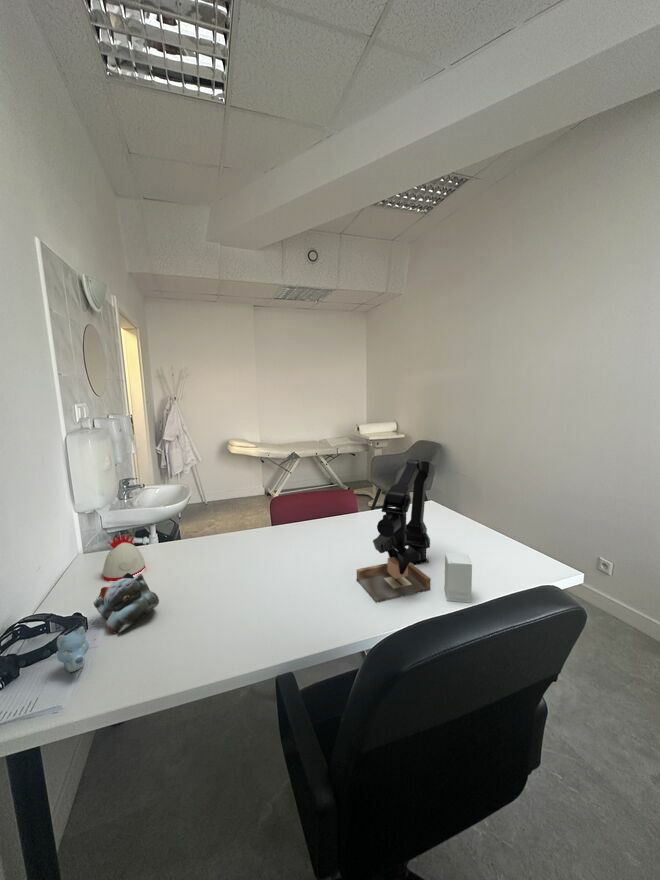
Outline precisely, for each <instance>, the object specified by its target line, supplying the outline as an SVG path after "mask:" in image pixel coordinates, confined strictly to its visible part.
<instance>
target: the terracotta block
mask: <svg viewBox="0 0 660 880" xmlns="http://www.w3.org/2000/svg"><path fill="white" fill-rule="evenodd" d="M386 561H387V562H386V563H388V573H389V574H390V575H391V576H392V577H393V578H394V579H396V578H401V577H405V576H408V566H407V568H406V570H405V572H404V574H400V571H399V562H398V560H397V559H396V558H395V557H392V558H389V557H388V558H387V560H386Z"/></svg>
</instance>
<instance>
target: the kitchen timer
mask: <svg viewBox="0 0 660 880" xmlns="http://www.w3.org/2000/svg"><path fill="white" fill-rule="evenodd" d="M121 536H122V537H121ZM121 536H120V535H119V534H118V536H117V540H116V539H115V537H114V536H113V537H112V543H111V542H110V541H108V544H109V546H111V549H110V550H109V552H108V554H107V555H106V557H105V560H104V562H103V563H104V564H103V569H102V579H103V580H104V581H105V580H106V581H105V582H108V581H117V580H120V579H122V578H123V576H124V575H125V574H126V573H130V574H131V575H132V576H133V575H135V574H137V573H139V572H141V571H142V570H143V569H144V568H145V569H146V562H145V560H144V557H143V554H142V553H141V551H140V549H138V548H137V546H136V545H134V544H132V543H133V542H134V537H131V539H130V535H126V536H125V533H124V534H123V533H122V535H121ZM129 539H130V540H129Z"/></svg>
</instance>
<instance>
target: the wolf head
mask: <svg viewBox="0 0 660 880" xmlns="http://www.w3.org/2000/svg"><path fill="white" fill-rule="evenodd" d="M56 646H57V652H56V653H57V655H56V656H57V660H58V662H60V663H63V665H64V668H65V669H66V670H67V671H68V672H72V673H73V671H74V672H77V671H78V670H80V669H81V668H82V667H83V665H84V662H85V661H86V653H87V652H88V650H89V649H90V647H89V646H90V645H89V642H88V641H87V639H86V630H85V627H84V626H82V625H81V626H79V627H78V628H77V629H76V630H75V631H72V632H70V633H68V634H66V635H65V634H60V635H58V637H57V639H56ZM76 670H77V671H76Z"/></svg>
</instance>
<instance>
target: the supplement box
mask: <svg viewBox="0 0 660 880" xmlns="http://www.w3.org/2000/svg"><path fill="white" fill-rule="evenodd" d="M444 555H445V556H444V586H443V587H444V592H445V597H446V601H448V602H457V603H469V604H470V603H472V583H473V582H472V580H473V564H472V561H471V559H470V556H469V555H468V554H466V553H464V554H462V553H448V552H447V553H445V554H444Z"/></svg>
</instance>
